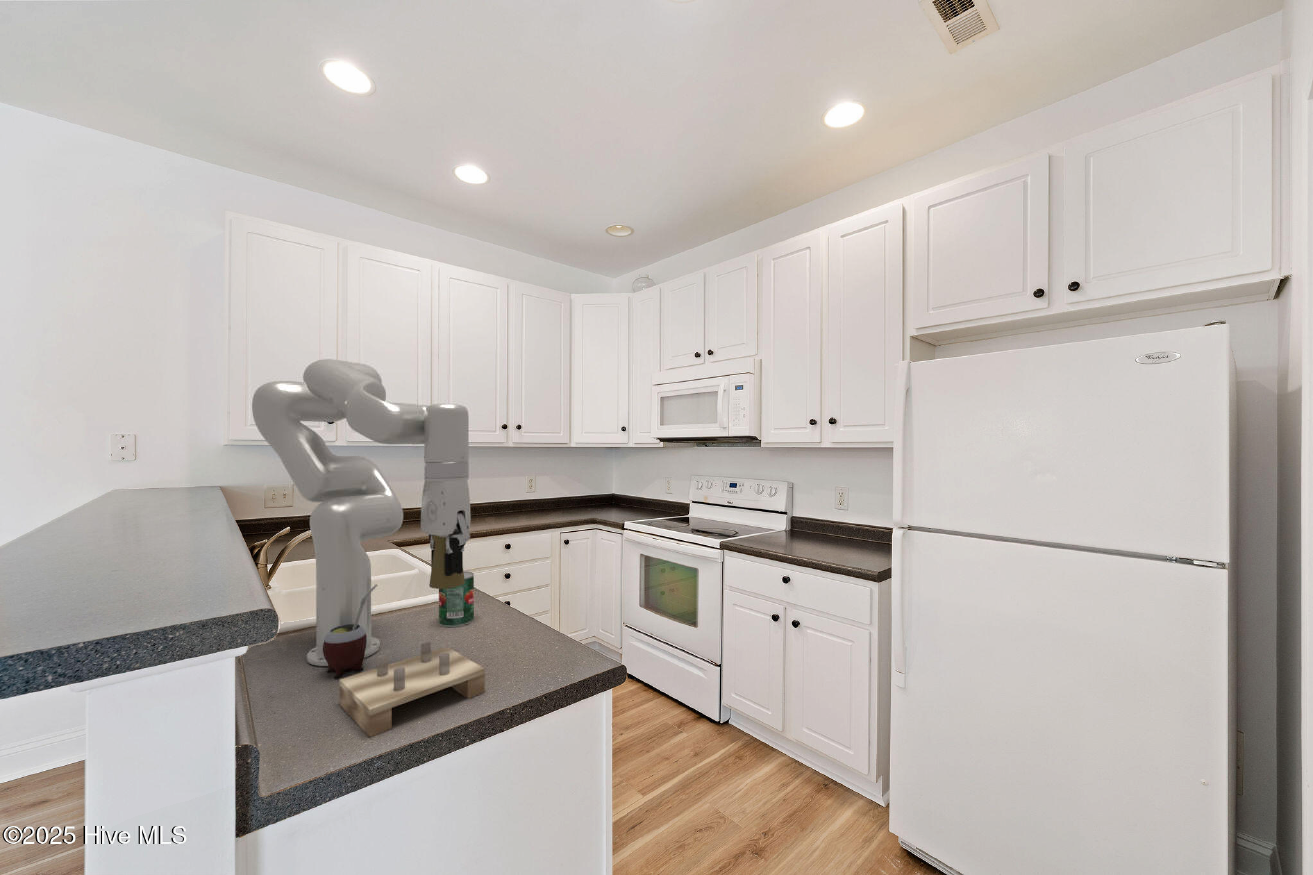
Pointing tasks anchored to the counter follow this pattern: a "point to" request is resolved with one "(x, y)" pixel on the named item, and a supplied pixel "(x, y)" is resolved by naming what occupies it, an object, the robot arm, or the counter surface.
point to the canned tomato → (457, 603)
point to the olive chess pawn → (437, 571)
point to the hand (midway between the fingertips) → (446, 571)
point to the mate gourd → (346, 646)
